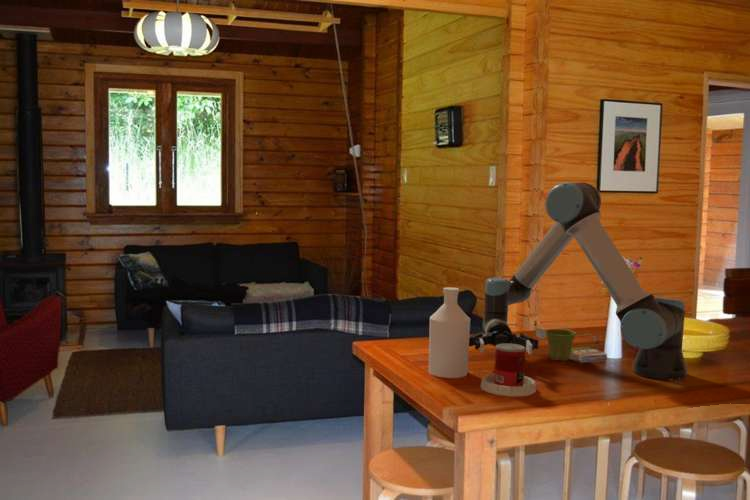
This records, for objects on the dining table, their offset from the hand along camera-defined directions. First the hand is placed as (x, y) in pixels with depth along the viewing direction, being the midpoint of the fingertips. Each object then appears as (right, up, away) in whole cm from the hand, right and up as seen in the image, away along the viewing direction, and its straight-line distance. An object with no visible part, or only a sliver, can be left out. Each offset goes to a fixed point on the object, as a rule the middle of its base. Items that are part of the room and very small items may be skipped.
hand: (506, 349), depth 220 cm
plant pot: (+22, -7, +28) cm, 36 cm away
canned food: (-1, -9, -7) cm, 12 cm away
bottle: (-16, -8, +8) cm, 19 cm away
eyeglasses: (+31, -4, +58) cm, 67 cm away
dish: (-1, -10, -7) cm, 12 cm away
